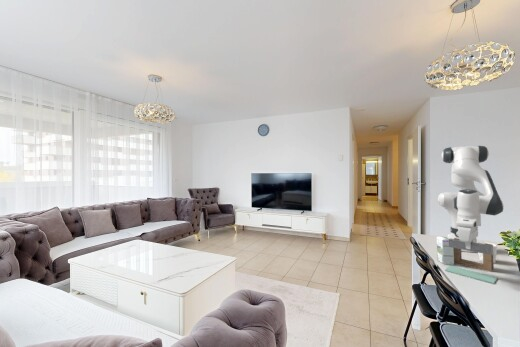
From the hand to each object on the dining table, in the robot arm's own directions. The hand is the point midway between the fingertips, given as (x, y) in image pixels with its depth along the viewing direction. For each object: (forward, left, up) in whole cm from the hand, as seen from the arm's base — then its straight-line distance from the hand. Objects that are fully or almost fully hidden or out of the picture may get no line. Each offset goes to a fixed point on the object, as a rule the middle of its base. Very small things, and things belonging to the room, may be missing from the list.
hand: (469, 248), depth 111 cm
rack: (-16, -2, -14) cm, 21 cm away
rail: (0, 0, -1) cm, 1 cm away
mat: (0, 0, -14) cm, 14 cm away
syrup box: (-9, -12, -14) cm, 21 cm away
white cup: (-31, +2, -14) cm, 34 cm away
